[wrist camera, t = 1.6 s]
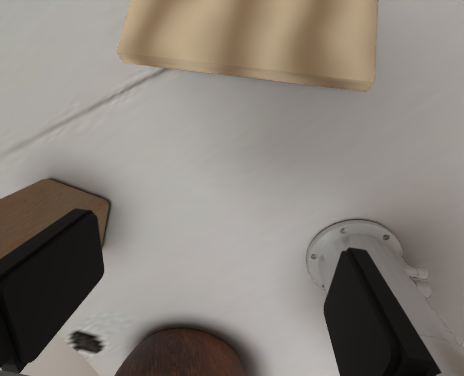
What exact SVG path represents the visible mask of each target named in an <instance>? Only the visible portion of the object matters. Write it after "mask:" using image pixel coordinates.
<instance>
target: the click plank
mask: <svg viewBox="0 0 464 376" xmlns="http://www.w3.org/2000/svg"><path fill="white" fill-rule="evenodd" d="M377 12H378V0H131V1H130V5H129V8H128V12H127V16H126V19H125V23H124V27H123V30H122V34H121V38H120V41H119V45H118V49H117V53H118V55H119V57H120V58H121V60H122V61H123V63H128V64H137V65H145V66H154V67H162V68H171V69H179V70H188V71H196V72H204V73H213V74H221V75H230V76H238V77H247V78H255V79H264V80H272V81H281V82H289V83H298V84H306V85H314V86H323V87H331V88H340V89H348V90H357V91H365V92H366V91H367V90H368V89H369V88H370V86H371V85H372V84H373V83H374V78H375V56H376V34H377Z"/></svg>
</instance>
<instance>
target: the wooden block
mask: <svg viewBox="0 0 464 376" xmlns="http://www.w3.org/2000/svg"><path fill="white" fill-rule="evenodd" d="M75 208H79V209H86V210H91V211H93V213H94V215H96V216H97V218H98V225H99V233H100V240H101V247H102V241H103V236H104V231H105V225H106V220H107V214H108V209H109V203H108V202H107V201H106V200H105V199H102V198H99V197H97V196H94V195H91V194H89V193H86V192H83V191H81V190H78V189H75V188H73V187H70V186H67V185H65V184H62V183H59V182H57V181H54V180H50V179H44V180H41V181H39V182H37V183H34V184H32V185H30V186H28V187H26V188H24V189H21V190H19V191H17V192H15V193H13V194H11V195H8V196H6V197H4V198H2V199H0V259H1V258H2V257H4V256H5V255H7V254H8V253H10V252H11V251H13V250H14V249H16V248H17V247H18V246H20V245H21V244H23V243H24V242H26V241H27V240H29V239H30V238H32V237H33V236H35V235H36V234H38V233H39V232H41V231H42V230H44V229H45V228H46V227H48V226H49V225H51V224H52V223H54V222H55V221H57V220H58V219H60V218H61V217H63V216H64V215H66V214H67V213H69V212H70V211H71V210H73V209H75Z"/></svg>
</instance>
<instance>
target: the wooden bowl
mask: <svg viewBox="0 0 464 376" xmlns="http://www.w3.org/2000/svg"><path fill="white" fill-rule="evenodd" d="M115 376H247V374H246V372H245V369H244V366H243V364H242V363H241V361H240V359H239V357H238V356H237V354H236V353H235V352H234V351H233V350H232V349H231V348H230V347H229V346H228V345H227V344H226V343H224V342H223V341H222V340H220V339H218V338H217V337H215V336H213V335H210V334H208V333H205V332H202V331H198V330H193V329H184V328H176V329H168V330H164V331H160V332H158V333H155V334H153V335H151V336H150V337H148V338H147V339H145V340H144V341H143V342H142V343H140V344H139V345H138V346H137V347H136V348H135V349H134V350H133V351H132V352H131V353H130V355H129V356H128V357H127V358H126V360H125V361H124V362H123V364H122V365H121V366H120V368H119V369H118V371H117V372H116V374H115Z"/></svg>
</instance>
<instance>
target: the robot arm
mask: <svg viewBox="0 0 464 376" xmlns="http://www.w3.org/2000/svg"><path fill="white" fill-rule="evenodd" d="M306 264H307V269H308V272H309V275H310V277H311V278H312V280H313V281H314V282H315V283H316V285H318V286H319V287H320V288H321V289H323V290H325V291H326V294H327V297H326V300H325V303H324V316H325V320H326V324H327V327H328V331H329V335H330V339H331V343H332V347H333V350H334V354H335V358H336V362H337V366H338V370H339V373H340V376H464V349H463V348H462V347H461V345H460V344H459V343H458V341H457V340H456V339H455V337H454V336H453V335H452V333H451V332H450V330H449V329H448V328H447V326H446V325H445V324H444V322H443V321H442V320H441V318H440V317H439V316H438V314H437V313H436V312H435V310H434V309H433V308H432V306H431V305H430V304H429V302H428V301H427V300H426V298H427V297H430V295H431V292H432V291H431V287H430V285H429V284H428V283H427V282H420V281H414V280H411V278H410V277H414V278H420V279H427V278H428V271H427V269H425V268H420V267H410V266H409V265H408V264H407V263H406V262H405V261H404V260H403V251H402V247H401V245H400V243H399V241H398V240H397V238H396V237H395V236H394V235H393V234H392V233H391V232H390V231H389V230H388V229H387V228H385V227H383V226H381V225H380V224H377V223H374V222H371V221H364V220H350V221H344V222H340V223H337V224H334V225H332V226H330V227H328V228H326V229H325V230H323V231H322V232H321V233H319V234H318V235H317V236H316V237H315V239H314V240H313V241H312V243H311V244H310V246H309V248H308V251H307V255H306ZM103 274H104V263H103V256H102V248H101V240H100V233H99V225H98V218H97V216H96V215H94V213H93V211H91V210H86V209H79V208H75V209H73V210H71V211H70V212H69V213H67V214H66V215H64V216H63V217H61V218H60V219H58V220H57V221H55V222H54V223H52V224H51V225H49V226H48V227H46V228H45V229H44V230H42V231H41V232H39V233H38V234H36V235H35V236H33V237H32V238H30V239H29V240H27V241H26V242H24V243H23V244H21V245H20V246H18V247H17V248H16V249H14V250H13V251H11V252H10V253H8V254H7V255H5V256H4V257H2V258H1V259H0V367H1V369H2V371H1V370H0V376H28V375H23V374H19V373H20V372H21V371H22V370H23V369H24V367H25V366H26V365H27V364H28V363H30V362H32V361H34V360H35V359H36V358H37V357H38V356H39V354H40V353H41V352H42V350H43V349H44V348H45V347H46V346H47V344H48V343H49V342H50V341H51V340H52V338H53V337H54V336H55V335H56V333H57V332H58V331H59V330H60V329H61V327H62V326H63V325H64V324H65V322H66V321H67V320H68V319H69V318H70V316H71V315H72V314H73V313H74V311H75V310H76V309H77V308H78V307H79V305H80V304H81V303H82V302H83V300H84V299H85V298H86V297H87V295H88V294H89V293H90V292H91V291H92V289H93V288H94V287H95V286H96V284H97V283H98V282H99V281H100V280H101V278H102V276H103ZM409 276H410V277H409ZM425 297H426V298H425ZM6 371H7V372H6Z"/></svg>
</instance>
